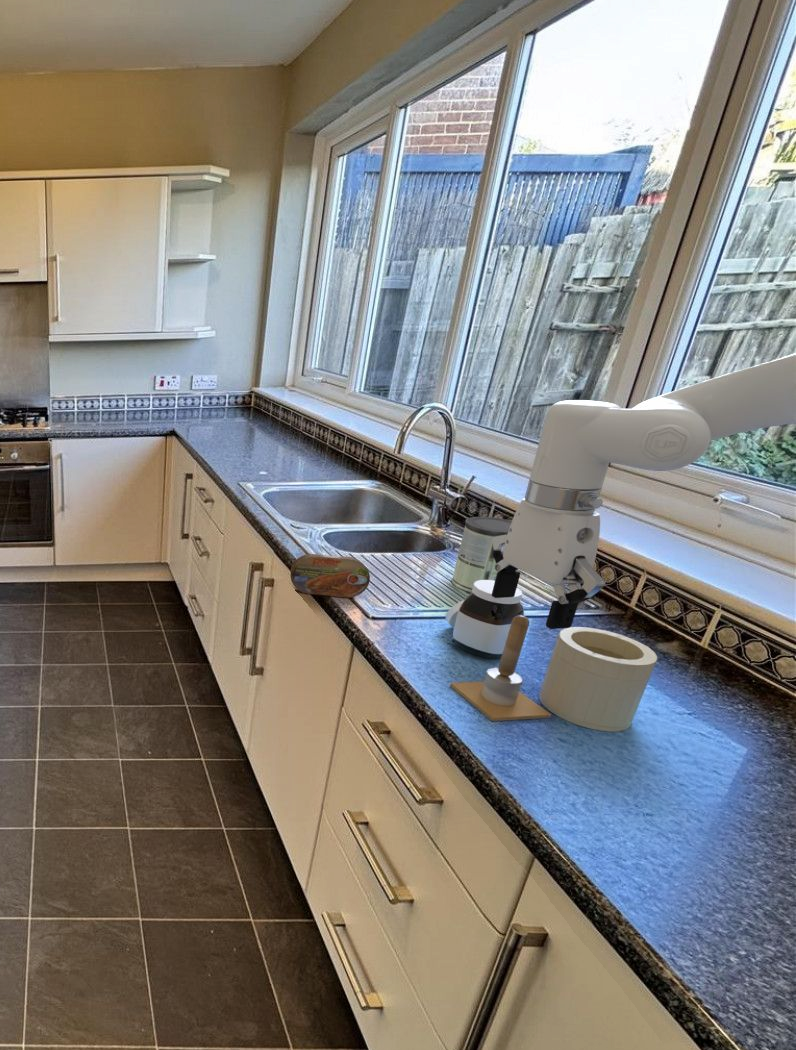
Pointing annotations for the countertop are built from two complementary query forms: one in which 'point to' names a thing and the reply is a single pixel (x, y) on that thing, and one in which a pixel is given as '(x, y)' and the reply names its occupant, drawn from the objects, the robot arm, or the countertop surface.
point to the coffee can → (478, 551)
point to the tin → (330, 575)
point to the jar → (596, 678)
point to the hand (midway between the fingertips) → (528, 611)
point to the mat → (495, 712)
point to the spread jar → (484, 620)
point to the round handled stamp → (507, 667)
